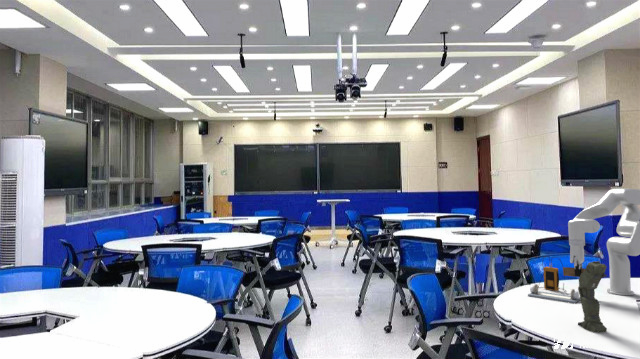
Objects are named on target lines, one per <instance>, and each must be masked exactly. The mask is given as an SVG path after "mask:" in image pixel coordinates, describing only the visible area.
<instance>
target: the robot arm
mask: <svg viewBox="0 0 640 359" xmlns="http://www.w3.org/2000/svg"><path fill="white" fill-rule="evenodd" d="M619 205H621V206H622V211H623V212H622V214H621V217H620V219H619V222H618V223H617V225H616V226H617V227H616V233H617V234H618V235H619V236H612V237H609V238H608V239H607V241H606V249H607V253H608V262H609V264H608V265H609V288H607V289H606V292H607V293H609V294H612V295H618V296H634V295H635V292H634V291H633V290H631V261H630V259H629V256H631V257H637V256H639V255H640V209H639V207H638V206H640V189H639V188H638V189H637V188H629V187H627V188H623V187H622V188H611V189H609V190H608V191H607V192H606V193H605V194H604V195H603V196H602V197H601V198H600V200H598V202H597V203H595V204H594V205H591V206H590V207H587V208H585V209H583V210H582V211H580V212H579V213H578V214H577V215H576V216H575V217H574V218H573V219H571V220H569V221H568V223H567V227H568V229H567V230H568V244H569V246H570V250H569V262H570V264H573V266H574V267H573V268H575V276H579V277H580V275H581V273H582V271H581V268H583V263H584V262H585V250H584V246H586V239H585V238H586V236H585V233H588V234H589V233H590V234H593V233H596V232H598V231H599V230H600V228H601V225H600V222H598V221H597V220H596V219H599V218H602V217H607V216H609V215H611V214H612V213H613V212H614V211H615V210H616V208H617V207H618V206H619ZM579 277H578V278H579Z"/></svg>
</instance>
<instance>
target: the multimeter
mask: <svg viewBox="0 0 640 359" xmlns="http://www.w3.org/2000/svg"><path fill="white" fill-rule="evenodd" d="M545 257H546V256H544V257H543V258H542V261H541V262H542V266H543V267H542V269H543V274H542V276H541V278H540V280H539V282H538V289H540V288H544V290H549V291H554V292H557V291H559V290H560V289H561V287H560V276H559V275H560V274H559V268H557V267H553V259H554V258H555V256H553V257H552V258H551V257H550V256H548V255H547V258H549V259H548V260H550V264H549V266H544V259H545ZM550 258H551V259H550ZM556 258H557V259H558V260H559V261H560V263H561V266H562V267H564V265H563V262H562V261H561V259H560V258H559V257H558V256H556ZM542 279H543V286H541V287H540V284H541V281H542ZM564 290H565V291H567V290H566V289H565V284H563V287H562V291H563V292H565V291H564Z"/></svg>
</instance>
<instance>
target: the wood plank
mask: <svg viewBox="0 0 640 359" xmlns="http://www.w3.org/2000/svg"><path fill="white" fill-rule="evenodd" d="M585 270H586V267H585V268H584V267H582V268H581V271H582V273H583V272H585ZM562 273H563V274H562V275H563V277H576V278H579V276H575V268H574V267H566V266H562Z"/></svg>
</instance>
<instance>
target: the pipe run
mask: <svg viewBox="0 0 640 359" xmlns="http://www.w3.org/2000/svg"><path fill="white" fill-rule="evenodd" d="M538 286H539V284H537V283H534V285H532V284H531V285H530V286H529V287H530V293H528V294H527V297H531V298H537V299H543V300H551V301H557V302H563V303H568V302H569V304H574V303H575V304H576V302H577V303H578V302H579V301H581V300H580V295H579V291H575V289H574V288H572V289H570V295H567V294H560V293H553V292H546V291H540V290H539V288H538Z"/></svg>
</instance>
